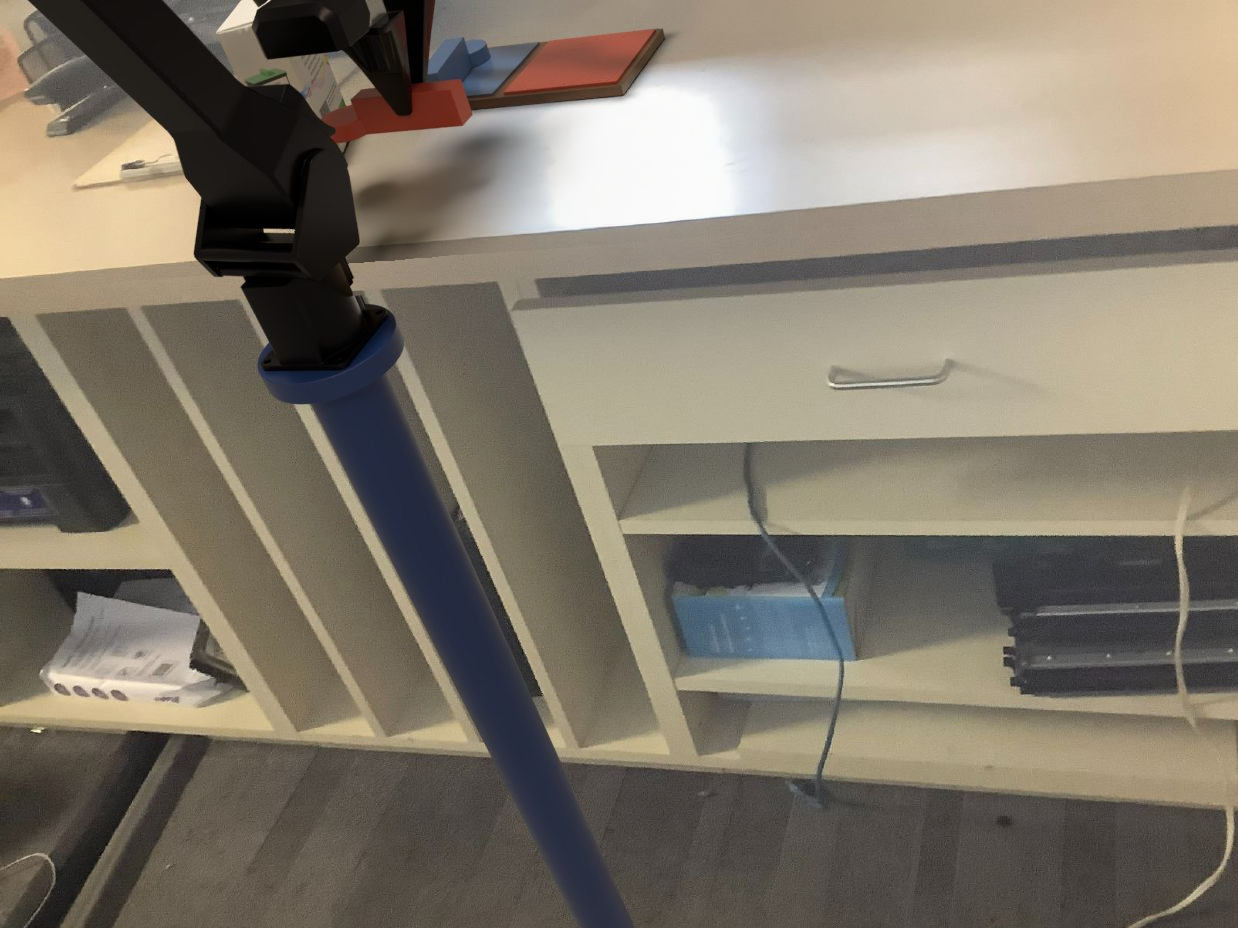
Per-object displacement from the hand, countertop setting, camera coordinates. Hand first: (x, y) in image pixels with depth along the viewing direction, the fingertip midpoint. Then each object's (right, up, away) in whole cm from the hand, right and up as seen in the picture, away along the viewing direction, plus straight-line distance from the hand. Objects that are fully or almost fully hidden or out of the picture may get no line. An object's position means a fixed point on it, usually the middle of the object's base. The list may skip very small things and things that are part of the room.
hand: (411, 108), depth 80 cm
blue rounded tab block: (-1, +9, +18) cm, 20 cm away
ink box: (-11, +1, +14) cm, 18 cm away
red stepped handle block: (-1, -1, +1) cm, 2 cm away
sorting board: (+5, +9, +18) cm, 21 cm away
